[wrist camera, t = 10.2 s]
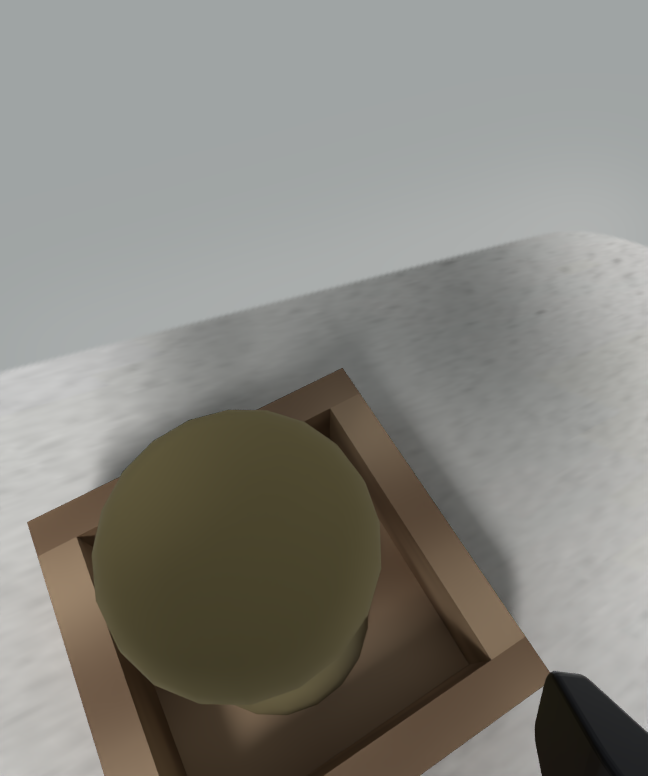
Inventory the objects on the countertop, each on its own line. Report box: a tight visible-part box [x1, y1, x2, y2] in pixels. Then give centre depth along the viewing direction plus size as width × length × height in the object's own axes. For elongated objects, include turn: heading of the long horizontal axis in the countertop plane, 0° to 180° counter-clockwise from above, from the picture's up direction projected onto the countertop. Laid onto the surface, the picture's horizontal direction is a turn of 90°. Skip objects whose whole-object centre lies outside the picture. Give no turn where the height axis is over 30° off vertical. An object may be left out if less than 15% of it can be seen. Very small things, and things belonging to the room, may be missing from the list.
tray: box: [27, 368, 550, 776], centre depth 18 cm, size 11×11×4 cm
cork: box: [92, 410, 381, 715], centre depth 14 cm, size 6×6×11 cm
